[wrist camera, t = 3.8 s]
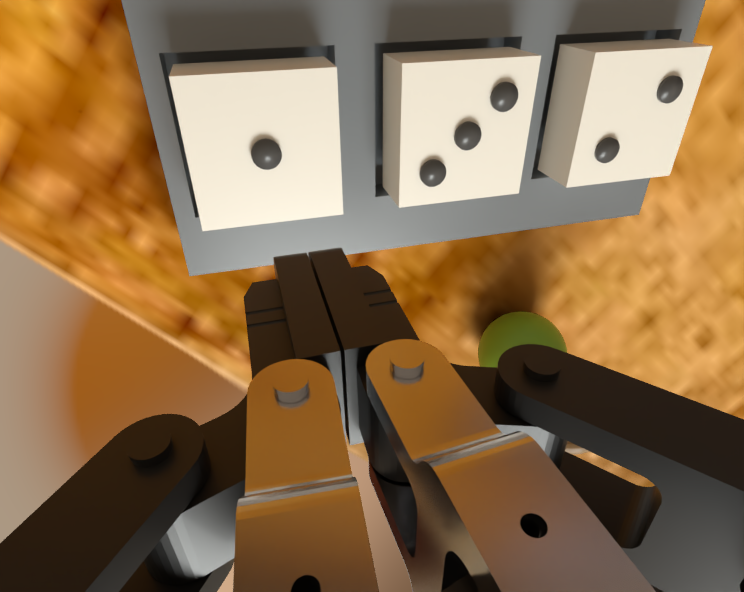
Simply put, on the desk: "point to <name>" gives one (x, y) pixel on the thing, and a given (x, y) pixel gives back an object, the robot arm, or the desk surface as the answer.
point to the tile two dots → (619, 109)
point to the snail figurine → (520, 342)
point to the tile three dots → (456, 123)
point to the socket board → (365, 108)
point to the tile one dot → (260, 139)
